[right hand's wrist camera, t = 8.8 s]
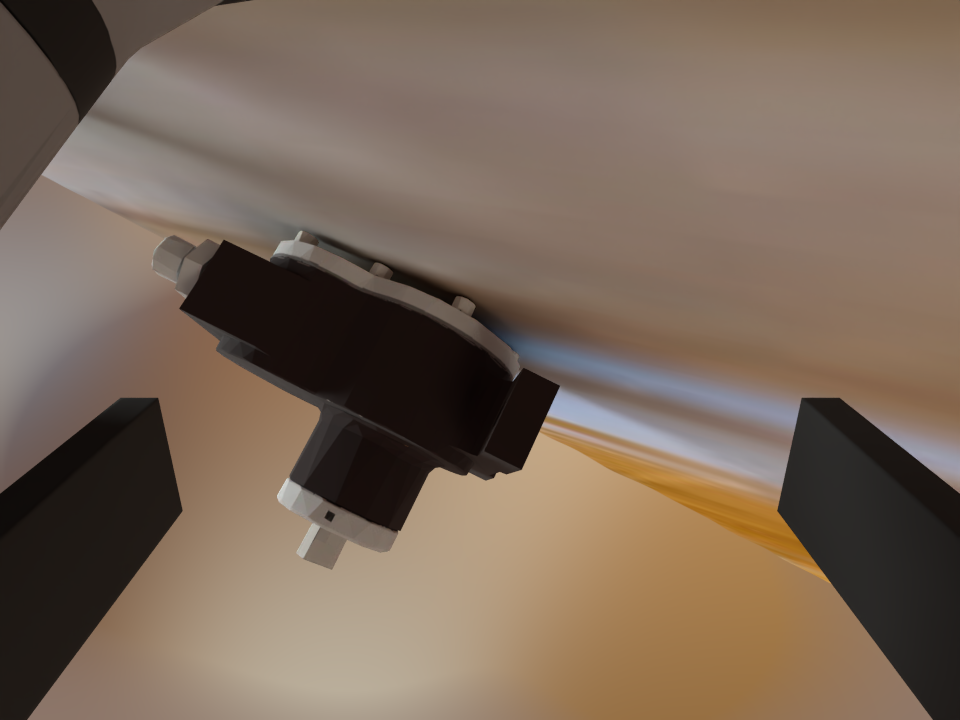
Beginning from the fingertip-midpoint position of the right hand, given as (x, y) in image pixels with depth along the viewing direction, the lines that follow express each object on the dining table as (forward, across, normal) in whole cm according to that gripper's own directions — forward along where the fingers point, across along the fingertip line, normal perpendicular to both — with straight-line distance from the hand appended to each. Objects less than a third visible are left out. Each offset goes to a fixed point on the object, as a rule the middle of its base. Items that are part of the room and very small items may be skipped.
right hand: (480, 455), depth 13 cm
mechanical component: (+38, -8, -6) cm, 39 cm away
